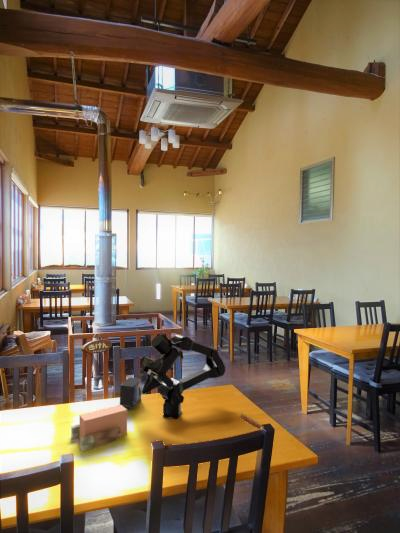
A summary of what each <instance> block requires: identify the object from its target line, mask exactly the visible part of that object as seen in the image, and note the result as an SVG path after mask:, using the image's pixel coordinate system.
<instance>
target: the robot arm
mask: <svg viewBox="0 0 400 533" xmlns="http://www.w3.org/2000/svg"><path fill="white" fill-rule="evenodd" d="M150 346H151V347H152V348H153V349H154V350H155V351H157V353H159V355H161V357H157V358H156V357H154V358H150V357H149V356H145V357H144V359H143V361H142V363H141V365H140V366H139V369H140V370H141V371H142V372H143V373H144V374H145V381H144V385H143V387H142V389H141V394H144V395H146V394H147V393H149V392H150V391H152V390H154V389H157V388H158V387H159V391H158V392H159V395H160V396H161V398H162V399H164V403H163V404H162V407H163V408H162V414H163V415H162V418H166V419H167V418H168V419H174V420H175V419H176V420H178V419H179V417H180V416H181V415H182V413H183V412H182V411H181V409H182V408H181V407H182V403H184V400H185V397H184V395H182V394H183V393H184V392H185V391H186V390H188V389H190V388H192V387H194V386H196V385H198V384H200V383H203V382H204V381H206V380H208V379H218V378H221V377H223V376H224V375H225V373H226V366H225V364H224V361H223V359H222V358H221V356H220V355H219V351H218V350H217V349H216V348H213V347H211V346H210V347H209V346H206V345H204V344H203V345H202V344H200V343H198V342H195V341H194V340H193V339H192V338H189V337H188V336H186V335H183V334H179V333H177V334H175V335H174V336H172V337H168V336H167V335H166V334H165V333H163V332H161V333H160V334H159V335H157V336H155V337H153V338H152V340H151V342H150ZM178 349H179V350H178ZM180 350H181V351H180ZM183 351H188V352H190V351H191V352H192V351H193V352H196V353H198V354H202V355H205V363H206V364H205V365H204V367H203V368H201V369H200V370H198V371H195V372H194V373H191V374H189V375H186V376H185V377H183V378H180V379H175V378H173V377H169V376H168V375H167V374H168V372H169V371H172V370H173V369H174V368H173V365H174V364H175V362H177V360H178V358H180V359H181V360H183V359H184V354H183V353H184V352H183Z"/></svg>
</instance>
